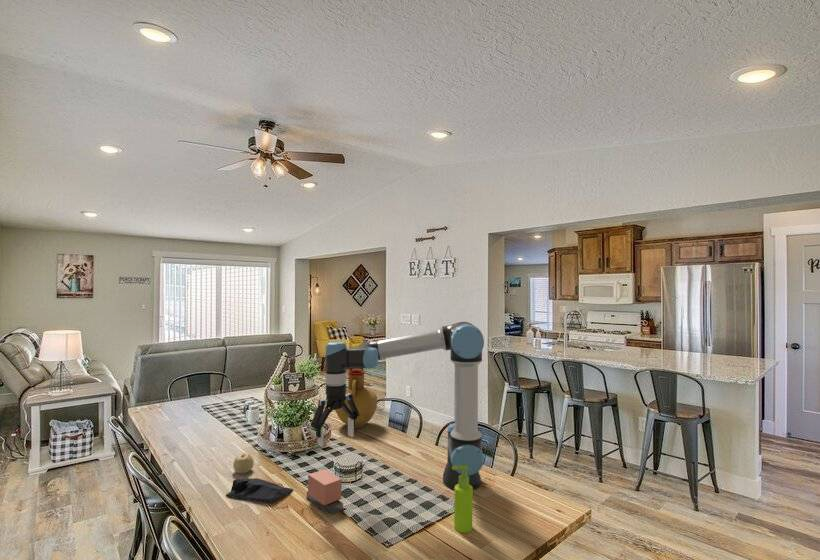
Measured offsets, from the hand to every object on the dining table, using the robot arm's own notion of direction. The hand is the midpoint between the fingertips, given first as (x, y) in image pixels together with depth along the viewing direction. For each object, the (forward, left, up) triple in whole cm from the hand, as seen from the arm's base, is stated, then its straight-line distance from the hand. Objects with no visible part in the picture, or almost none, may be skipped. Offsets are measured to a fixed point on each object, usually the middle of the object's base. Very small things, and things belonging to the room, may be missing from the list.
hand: (336, 440), depth 161 cm
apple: (+43, +17, -21) cm, 50 cm away
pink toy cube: (-2, +6, -20) cm, 21 cm away
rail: (-2, +6, -20) cm, 21 cm away
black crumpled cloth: (+21, +20, -21) cm, 36 cm away
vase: (+59, -52, -21) cm, 81 cm away
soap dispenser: (-45, -19, -21) cm, 53 cm away
